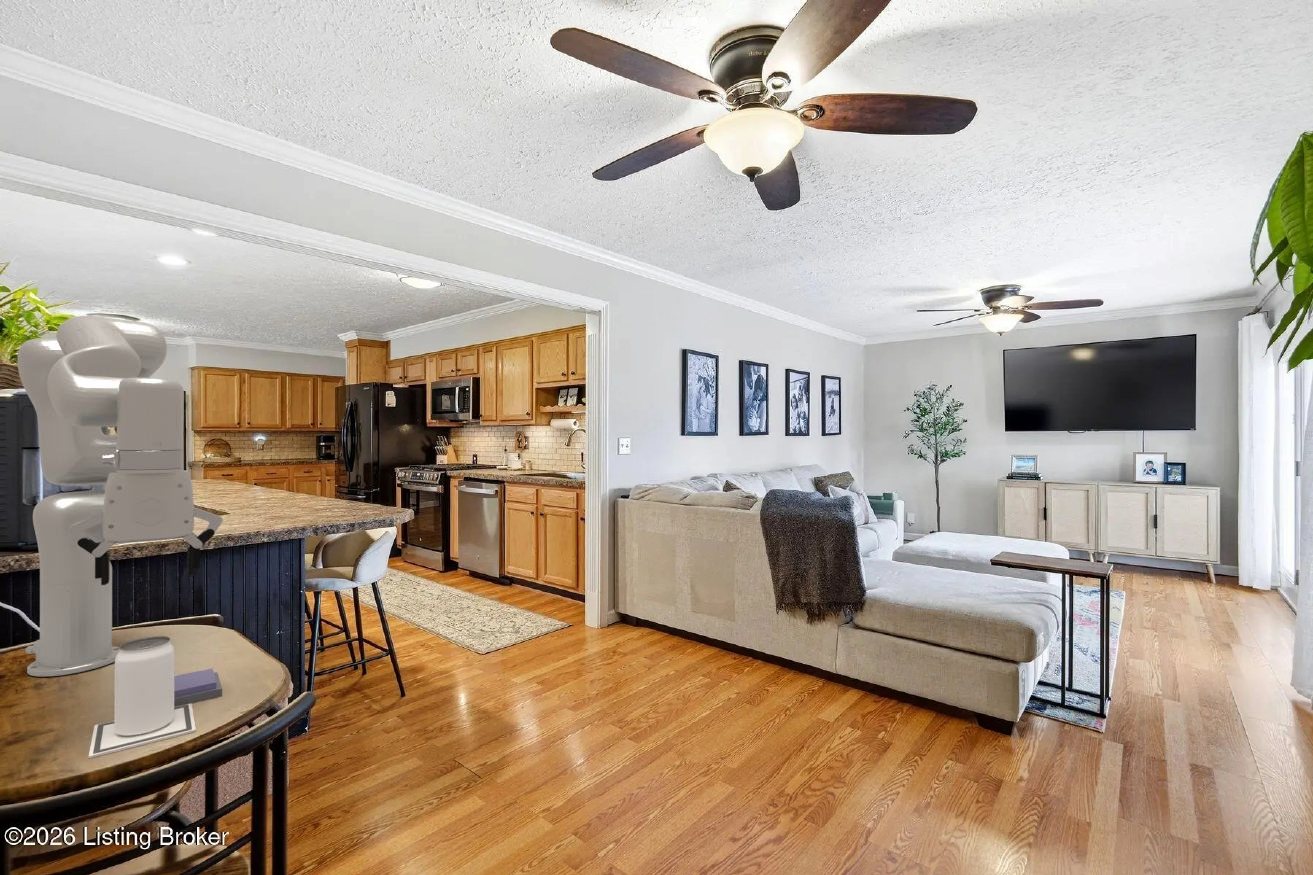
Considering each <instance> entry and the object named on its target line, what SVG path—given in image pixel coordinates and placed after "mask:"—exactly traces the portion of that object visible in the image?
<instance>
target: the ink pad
mask: <svg viewBox="0 0 1313 875" xmlns="http://www.w3.org/2000/svg"><path fill="white" fill-rule="evenodd" d="M220 679H221V678H220V676H219V673H218V671H216V672H214V669H213V668H208V669H203V670H197V671H193V672H188V673H184V674H179V675H174V707H178V706H182V705H187V704H191V703H192V704H193V703H198V702H203V701H206V700H210V699H216V698H220V697H223V687H222V684H221V680H220ZM197 701H198V702H197Z"/></svg>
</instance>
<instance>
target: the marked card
mask: <svg viewBox="0 0 1313 875" xmlns="http://www.w3.org/2000/svg"><path fill="white" fill-rule="evenodd" d="M92 731H93V732H92V735H91V736H92V737H91V741H90V748H89V752H88V759H93V758H97V757H101V756H104V755H108V754H111V753H112V754H113V753H116V752H120V751H125V750H129V749H132V748H136V747H141V746H144V745H149V744H152V743H157V742H160V741H164V740H168V739H172V738H176V737H181V736H185V735H188V734H191V733H196V732H197V731H196V723H195V717H194V711H193V703H189V704H185V705H180V706H176V707H174V718H173V720H172V721H171V723H170V724H169V725H167V726H166V727H164V728H162V729H160V730H157V731H154V732H151V733H148V734H144V735H139V736H132V737H124V736H120V735H118V734H117V733H115V720H112V721H108V722H103V723H98V724H94V727H93V730H92Z"/></svg>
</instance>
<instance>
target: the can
mask: <svg viewBox="0 0 1313 875" xmlns="http://www.w3.org/2000/svg"><path fill="white" fill-rule="evenodd" d="M119 649H120V651H119V653H118V654H117V656H116V658H115V662H114V721H115V733H117V734H118V735H120V736H124V737H132V736H139V735H144V734H148V733H151V732H154V731H157V730H160V729H162V728H164V727H166V726H167V725H169V724H170V723H171V721H172V720H173V718H174V676H175V648H174V645H173V644H172V643H171V637H170V636H166V635H165V636H164V635H163V636H162V635H160V636H149V637H147V636H146V637H143V638H137V639H134V640H129V641H127V642H125V643H122V644H120V646H119Z"/></svg>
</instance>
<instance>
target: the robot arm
mask: <svg viewBox="0 0 1313 875" xmlns="http://www.w3.org/2000/svg"><path fill="white" fill-rule="evenodd" d="M167 352H168V346H167V341H166V337H165V336H164V334H163V332H162V331H161V330H160V329H159V328H157V327H156V326H154V325H153V324H151V323H147V322H144V321H143V322H142V321H134V320H126V319H120V318H119V319H118V318H112V317H104V316H95V315H79V316H74V317H70V318H67V319H66V320H64V321H63V322H62V323H60V325H59V326H58V328H57V330H56V337H37V338H32V339H29V340H26V341H24V342H23V343H22V344H21V345H20V346H19V349H18V353H17V369H18V375H19V378H20V381H21V384H22V386H23V388H24V390H25V392H26V394H27V396H28V398H29V400H30V402H31V403H32V406H33V407H34V410H35V413H36V416H37V417H36V418H37V427H38V428H37V429H38V444H39V456H40V457H39V458H40V466H41V470H42V471H41V472H42V475H43V477H44V478H45V480H46V481H47V483H50V484H52V485H55V486H56V485H57V486H66V487H67V486H68V487H69V486H72V487H75V486H76V487H78V486H80V487H81V486H98V485H101V486H102V485H105V490H84V491H83V490H82V491H69V492H60V493H56V494H52V495H49V496H46V497H44V498H43V499H41V500H40V501H39V502H38V503H37V504H35V506H34V508H33V512H32V524H33V528H34V532H35V536H36V542H37V548H38V549H37V550H38V555H39V557H38V558H39V639H37V640H35V642H34V643H33V644H32V645H28V646H27V647H26V648H25V651H24V652H25V654H27V655H28V654H32V655H34V654H35V660H34V661H33V662H31V663H30V664H29V665H27V669H26V670H27V671H26V672H27V675H29V676H32V677H38V678H39V677H43V678H45V677H57V676H65V675H73V674H77V673H81V672H87V671H91V670H94V669H98V668H102V667H105V666H107V665H109V664H112V663H115V658H116V656H117V654H118V653H119V651H120V649H119V647H118V646H113V566H112V563H111V561H110V558H111V557H110V556H111V553H110V554H109V553H108V551H109V550H110V549H111V548H112V547H113V546H114V545H115V544H126V543H142V542H151V541H164V540H165V541H166V540H175V539H183V540H184V541H186V542H187V543H188V544H189V546H188V547H187V575H188V576H194V575H195V569H200V568H201V566H200V565H201V564H200V562H201V560H200V556H201V553H200V552H201V548H202V547H203V545H205V543H207V542H208V541H209V540H210V539H211V538H213V536H214V535H215V533H216V532H217V530H218V529H219V527H220V526H221V524H222V523H223V521H224V520H223V518H222V516H220V515H218V514H214V513H212V512H210V511H206V510H203V509H200V508H197V507H195V506H194V504H195V503H194V491H193V490H194V488H193V483H192V477H191V473H190V471H189V470H184V424H185V422H184V421H185V420H184V419H185V418H184V417H185V416H184V413H185V412H184V410H185V409H184V407H185V406H184V404H185V403H184V402H185V401H184V400H185V394H184V392H185V391H184V387H183V385H182V384H181V383H180V382H178V381H176V380H173V379H168V378H156V377H154V378H153V377H152V375H154V374H155V373H156V372H157V371H158V370H159V369H160V368H161V367H162V365H163V363H164V362H165V360H166V358H167V357H166V356H167ZM102 428H116V434H114V435H112V434H111V435H110V434H105V433H104V432H103V430H102ZM195 518H197V519H200V520H202V521H206V522H208V525H207V527H206V529H204V530H203V531H202V532H200V534H199V535H196V534H195V533H194V528H195V526H194V525H195Z"/></svg>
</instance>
